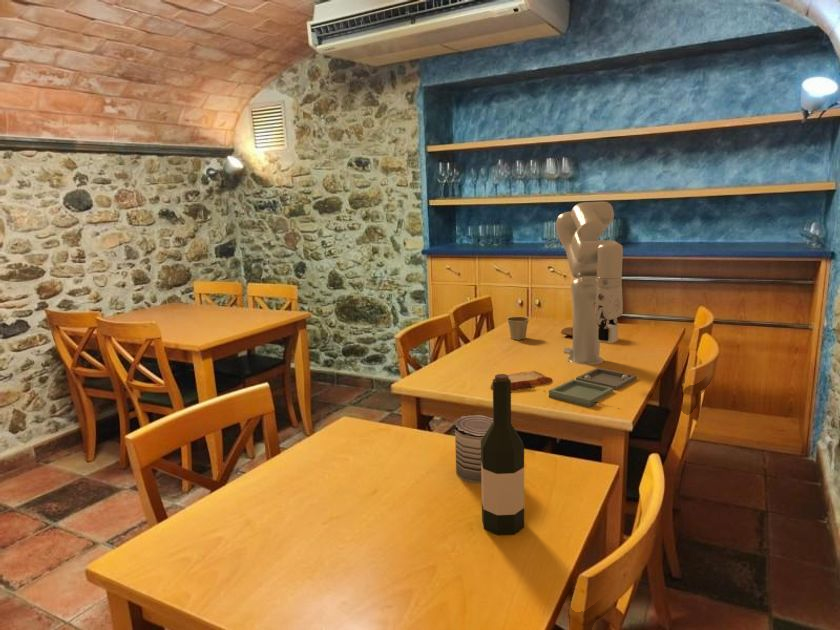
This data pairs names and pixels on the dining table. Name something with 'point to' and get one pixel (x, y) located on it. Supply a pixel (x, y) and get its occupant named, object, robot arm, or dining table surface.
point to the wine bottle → (502, 467)
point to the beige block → (610, 333)
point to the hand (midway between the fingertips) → (607, 338)
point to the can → (470, 445)
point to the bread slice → (526, 380)
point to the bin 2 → (607, 378)
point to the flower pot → (518, 327)
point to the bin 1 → (580, 392)
